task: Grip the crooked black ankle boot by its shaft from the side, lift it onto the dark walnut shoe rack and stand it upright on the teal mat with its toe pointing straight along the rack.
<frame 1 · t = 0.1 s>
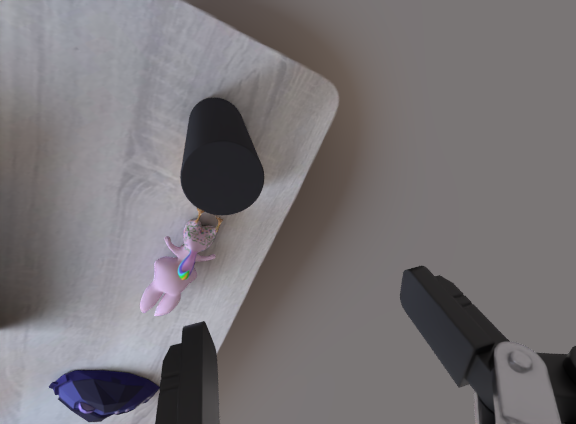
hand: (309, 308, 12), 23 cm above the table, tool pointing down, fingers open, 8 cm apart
computer mouse: (106, 387, 46), on the table
boot: (216, 125, 30), on the table
rabbit figure: (180, 255, 37), on the table
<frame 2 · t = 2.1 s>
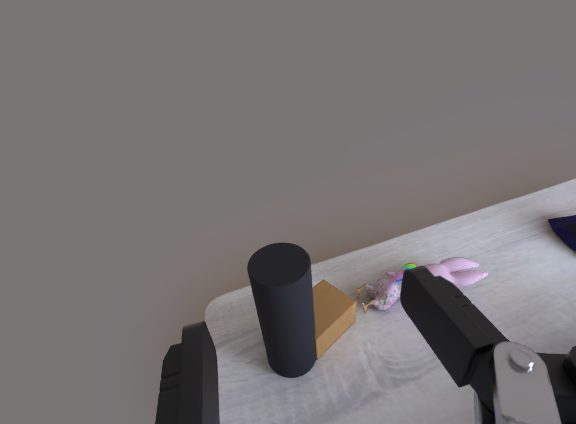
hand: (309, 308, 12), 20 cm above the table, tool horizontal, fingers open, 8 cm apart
boot: (292, 353, 32), on the table
rabbit figure: (417, 296, 37), on the table
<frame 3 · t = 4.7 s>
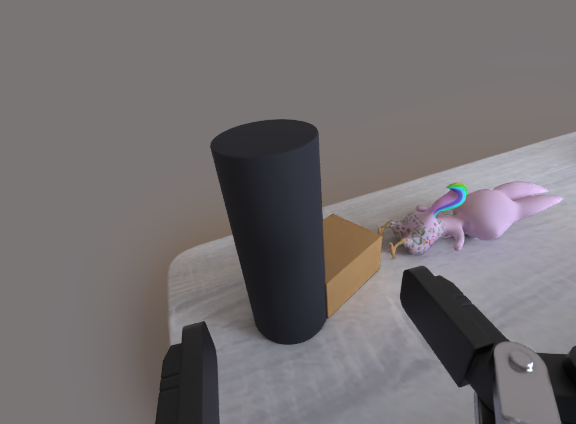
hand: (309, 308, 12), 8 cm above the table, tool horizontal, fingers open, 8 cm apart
boot: (290, 311, 22), on the table
rabbit figure: (462, 237, 27), on the table
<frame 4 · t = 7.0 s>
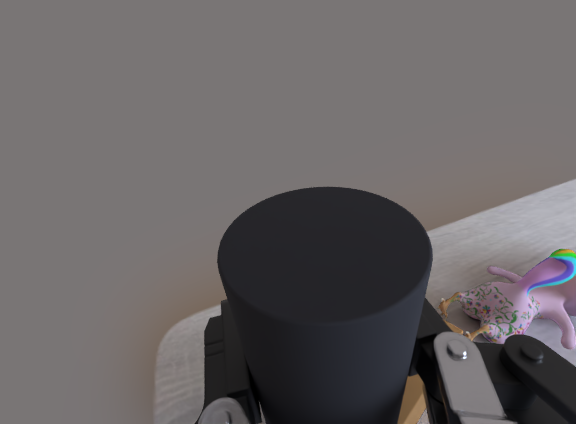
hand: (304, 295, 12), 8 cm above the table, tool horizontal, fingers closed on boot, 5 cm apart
rabbit figure: (555, 313, 20), on the table
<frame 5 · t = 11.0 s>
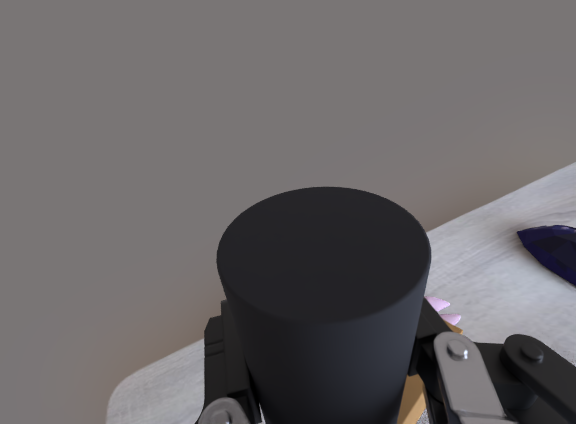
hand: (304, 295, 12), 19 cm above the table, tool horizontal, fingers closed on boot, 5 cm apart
rabbit figure: (381, 349, 30), on the table
when the fingers open (14 cm above the table, at t = 15.1 s): boot stays where it is, resting on shoe rack.
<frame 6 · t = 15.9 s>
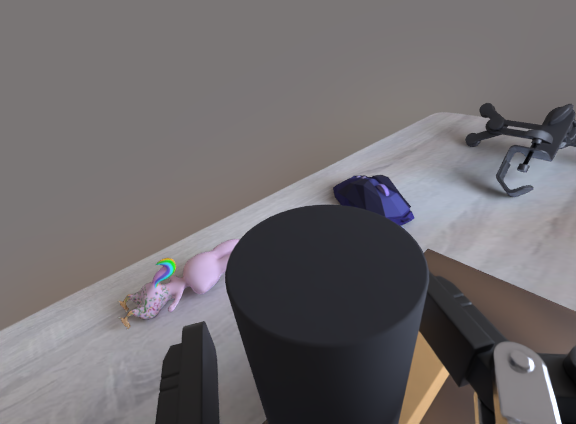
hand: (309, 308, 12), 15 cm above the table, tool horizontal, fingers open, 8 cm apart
computer mouse: (374, 203, 45), on the table
rabbit figure: (196, 291, 34), on the table
tablet mount: (536, 176, 46), on the table
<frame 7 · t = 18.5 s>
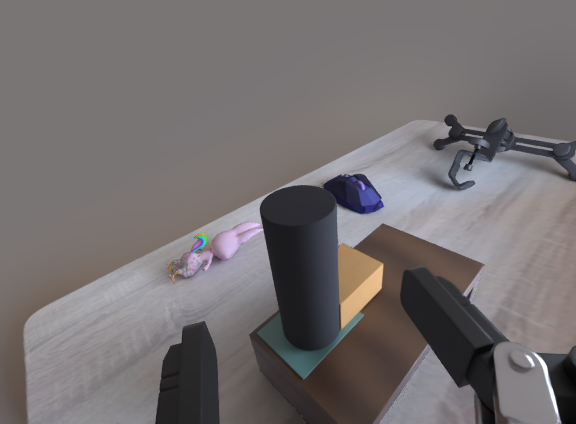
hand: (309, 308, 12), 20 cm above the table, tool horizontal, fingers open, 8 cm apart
computer mouse: (355, 196, 57), on the table
boot: (311, 324, 27), point 6 cm above the table, touching shoe rack
shoe rack: (372, 334, 33), on the table
rabbit figure: (220, 259, 46), on the table
tablet mount: (484, 174, 59), on the table
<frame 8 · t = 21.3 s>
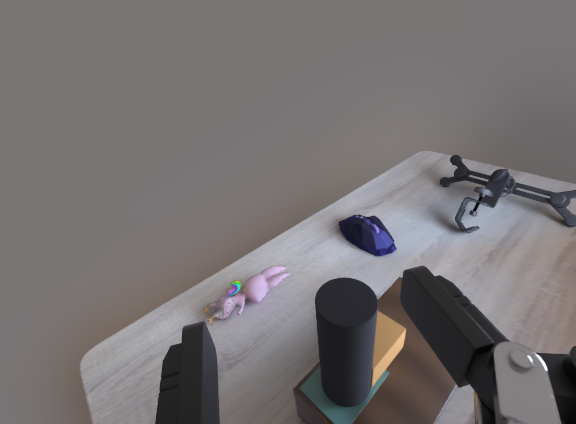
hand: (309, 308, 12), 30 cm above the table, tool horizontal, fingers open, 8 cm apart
computer mouse: (369, 235, 62), on the table
boot: (345, 381, 32), point 6 cm above the table, touching shoe rack
shoe rack: (392, 382, 38), on the table
rabbit figure: (250, 301, 51), on the table
tablet mount: (486, 215, 64), on the table
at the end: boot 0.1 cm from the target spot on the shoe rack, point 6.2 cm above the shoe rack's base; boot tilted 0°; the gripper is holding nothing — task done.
